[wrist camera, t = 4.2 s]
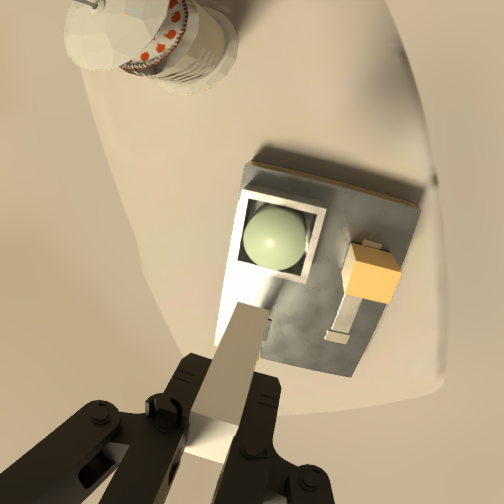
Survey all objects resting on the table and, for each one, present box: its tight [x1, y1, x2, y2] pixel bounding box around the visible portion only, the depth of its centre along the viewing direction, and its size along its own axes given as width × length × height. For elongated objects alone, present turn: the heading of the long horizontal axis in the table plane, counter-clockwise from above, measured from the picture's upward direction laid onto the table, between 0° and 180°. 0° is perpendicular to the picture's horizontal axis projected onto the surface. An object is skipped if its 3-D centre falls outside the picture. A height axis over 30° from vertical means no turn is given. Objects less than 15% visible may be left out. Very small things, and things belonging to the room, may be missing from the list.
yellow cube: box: [341, 243, 402, 304], centre depth 26 cm, size 3×4×4 cm
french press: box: [63, 0, 238, 95], centre depth 15 cm, size 10×12×25 cm
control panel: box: [214, 161, 421, 377], centre depth 31 cm, size 20×16×6 cm
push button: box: [243, 203, 307, 270], centre depth 27 cm, size 5×5×3 cm
